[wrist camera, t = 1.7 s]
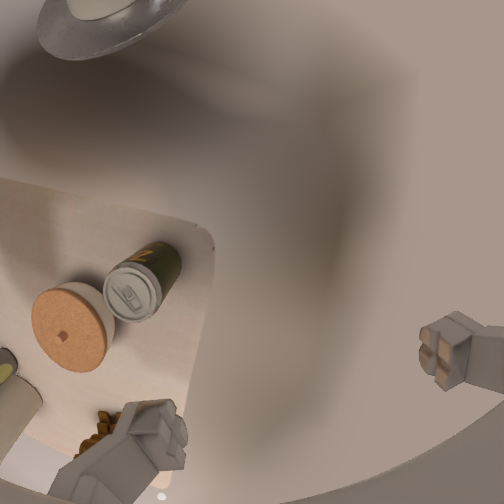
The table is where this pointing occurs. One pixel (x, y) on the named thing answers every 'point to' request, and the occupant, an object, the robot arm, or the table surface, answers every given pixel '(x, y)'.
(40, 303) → the trinket box
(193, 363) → the table surface
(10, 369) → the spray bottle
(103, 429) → the wooden tiki figurine
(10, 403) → the paper towel roll
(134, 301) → the beer can
